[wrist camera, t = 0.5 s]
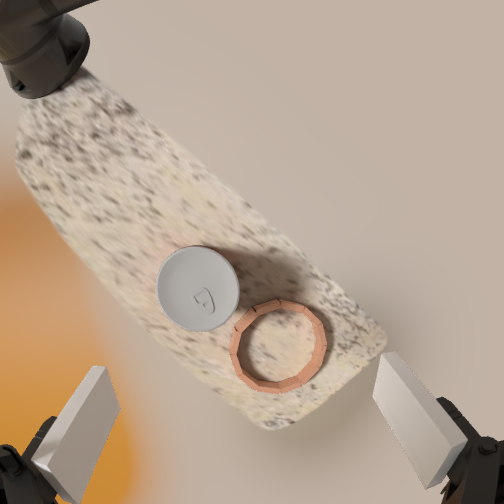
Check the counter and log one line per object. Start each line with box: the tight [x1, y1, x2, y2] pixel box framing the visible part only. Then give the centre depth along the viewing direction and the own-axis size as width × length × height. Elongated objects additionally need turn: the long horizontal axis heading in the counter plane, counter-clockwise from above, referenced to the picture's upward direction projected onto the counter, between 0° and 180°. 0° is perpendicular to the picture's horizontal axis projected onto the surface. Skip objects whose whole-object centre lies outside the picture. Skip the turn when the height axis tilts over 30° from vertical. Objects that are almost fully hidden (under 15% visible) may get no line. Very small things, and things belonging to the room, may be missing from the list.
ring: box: [229, 299, 327, 394], centre depth 38 cm, size 13×13×2 cm
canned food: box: [156, 245, 240, 332], centre depth 32 cm, size 8×8×11 cm
